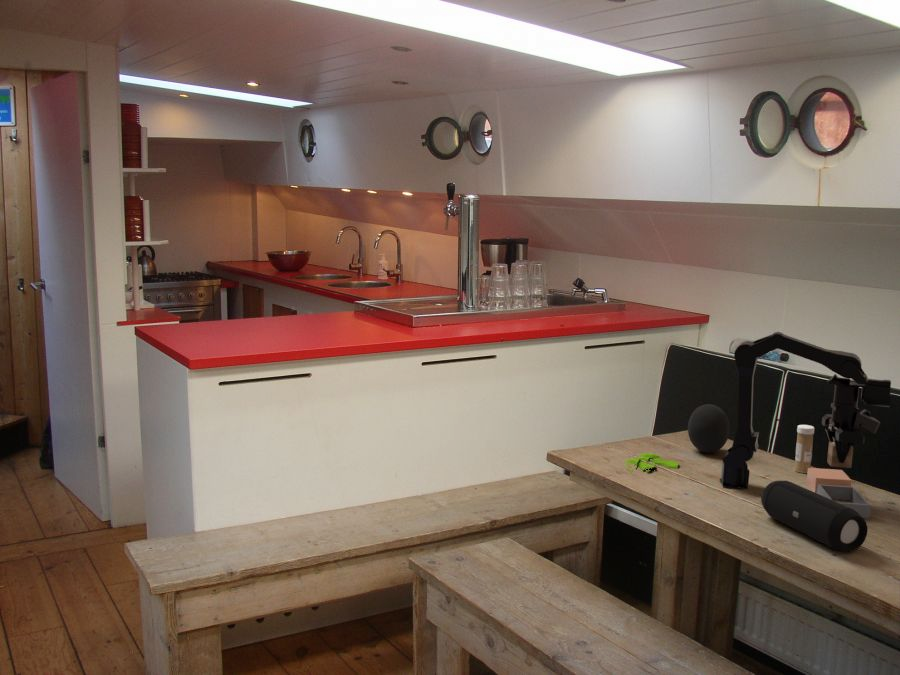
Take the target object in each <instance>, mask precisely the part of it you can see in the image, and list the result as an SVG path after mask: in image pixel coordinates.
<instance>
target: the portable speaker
mask: <svg viewBox="0 0 900 675" xmlns="http://www.w3.org/2000/svg"><path fill="white" fill-rule="evenodd" d="M837 502H838V501H835V500H834V499H832V500H831V499H828V498H826V497H824V496H822V495H819V494H817V493H815V492H813V491H812V490H811V489H808V488H805V487H803V486H801V485H798V484H796V483H795V482H791V481H789V480H774V481H772V482H770V483H768V484H767V485H766V487H764V489H763V492H762V493H761V506H762V508H763V509H764V511H765V512H766V514H768V516H770V517H771V518H772V519H774V520H776V521H778V522H781V523H782V524H784V525H786V526H788V527H790V528H792V529H794V530H796V531H798V532H799V533H802V534H804V535H805V536H808V537H810V538H812V539H814V540H815V541H817V542H820V543H822V544H824V545H826V546H828V547H830V548H832V549H834V550H836V551H839V552H841V551H842V552H853V551H856V550H857V549H859V548H861V546H862V545H863V544H864V542H865V540H866V538H867V536H868V524H867V521H866V520H865V518H862V516H861V515H860V514H859V513H858V512H857V511H855V510H853V509H851V508H849V507H847V506H844V505H842V504H840V503H841V502H840V503H837Z"/></svg>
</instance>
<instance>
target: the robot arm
mask: <svg viewBox="0 0 900 675" xmlns="http://www.w3.org/2000/svg"><path fill="white" fill-rule="evenodd" d="M775 350H781V351H782V352H783V351H784V352H786V353H788V354H792V355H794V356H798V357H801V358H802V359H806V360H809V361H811V362H814V363H817V364H821V365H823V366H824V367H826V368H827V369H829V370H830V371H831V372H833V373H834V375H833V376H831V377H830V378H828V379H827V384H828V385H833V386H834V392H833V393H834V394H833V400H832V401H833V402H831V403H830V408H831V409H832V413H831V414H830V413H826V414H825V415H823V416H822V417H821V419H822V420H821V425H822V426H823V427H827V426H828V427H827V428H824V431H825V432H826V435H827V438H828V442H834V445H835V449H836V452H837V456H838V460H839V462H840V463H844V462H845V459H846V457H847V455H848V452H849V450H850V448H851V446H852V447H853V446H854V445H856V444H860V445H861V444H865V442H866V441H865V439H866V435H864V433H863V432H862V431H861V430H860V428H862V429H864V430H867V431H869V432H870V433H872V434H876V433H877V431H878V428H879V426H880V424H881V422H880V421H879V420H878V419H877V418H875V417H873V416H872V413H871V412H870V411H869V410H867V409H865V408H864V409H862V410H861V409H860V408H859V407H858V402H859V395H860V401H863V403H864V404H865V405H866V406H875V407H883V408H884V407H885V408H890V406H891V396H892V394H891V385H892V381H891V380H889V379H874V378H873V379H872V378H869V377H868V375H867V374H866V372H865V371H864V370H863V368H862V360H861V358H860V357H859V356H858V355H857V354H856V353H853V352H848V351H847V352H846V351H842V350H833V349H828V348H823V347H821V346H819V345H818V346H817V345H816V344H812V343H810V342H807V341H803V340H800V339H798V338H796V337H793V336H789V335H787V334H784V333H783V332H780V331H775V332H773V333H772V334H769V335H767V336H764V337H762V338H759V339H756V340H754V341H750V340H746V341H743V342H741V343H740V344H738V346H736V348H735V350H734V353H733V355H734V363H735V368H736V373H737V377H738V382H737V383H738V385H737V386H738V387H737V412H736V413H737V415H736V416H737V418H736V419H737V420H736V429H735V433H734V437H733V440H732V441H733V442H732V446H731V447H730V448H728V449H727V450H726V452H725V454H724V455H723V458H722V462H721V477H720V478H719V482H720V484H721V485H722V487H723V488H731V489H732V488H733V489H748V485H749V484H750V482H749V481H750V469H749V468H748V467H749V465H748V463H747V462H749V461H750V460H751V459H753V457H754V454H755V453H757V451H758V450H759V446H760V445H759V443H758V439H759V434H760V431H754V428H753V407H754V404H753V403H754V378H755V377H754V375H755V371H756V367H757V364H758V360H759V358H760V357H762V356H764V355H767V354H769V353H770V352H772V351H775ZM838 375H839V376H840V377H839V376H838ZM851 380H852V381H851ZM853 381H854V382H853ZM860 388H861V392H859V391H860ZM859 393H860V394H859Z"/></svg>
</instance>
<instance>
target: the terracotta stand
mask: <svg viewBox="0 0 900 675" xmlns="http://www.w3.org/2000/svg"><path fill="white" fill-rule="evenodd" d="M852 482H853V480H852V479H851V478H850V477H849V475H847V473H845V472H844V470H842V469H835V468H834V469H833V468H832V469H831V468H815V467H814V468H813V467H811V468H808V472H807V473H806V483H805V484H806V485H807V486H808V488H809V490H810V491H812V492H815V493H817V486H818V485H834V486H849V487H852Z"/></svg>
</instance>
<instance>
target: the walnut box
mask: <svg viewBox="0 0 900 675" xmlns="http://www.w3.org/2000/svg"><path fill="white" fill-rule="evenodd" d="M827 450H828V451H827V461H826V462H827V464H828V465H829V466H830V467H831V468H832V467H833V468H846V469H852V464H853V455H854V446H853V445H852V446H851V448H850V450H849V452H848V455H847V457H846V459H845V462H844V463H840V462H839V460H838V456H837V452H836V449H835V445H834V442H830V441H828V449H827Z"/></svg>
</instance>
